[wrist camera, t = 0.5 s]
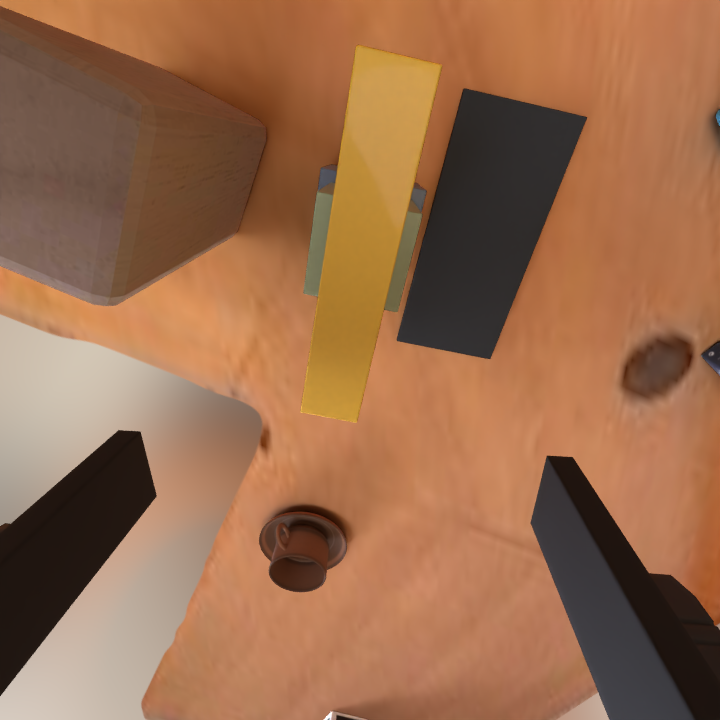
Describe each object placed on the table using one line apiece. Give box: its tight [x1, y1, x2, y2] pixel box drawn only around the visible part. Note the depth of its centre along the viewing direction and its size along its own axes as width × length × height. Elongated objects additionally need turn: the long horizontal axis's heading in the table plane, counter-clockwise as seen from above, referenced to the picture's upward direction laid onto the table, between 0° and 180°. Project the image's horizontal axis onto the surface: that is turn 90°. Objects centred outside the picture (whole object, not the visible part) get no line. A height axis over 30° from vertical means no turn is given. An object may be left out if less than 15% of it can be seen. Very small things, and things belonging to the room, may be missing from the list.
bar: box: [301, 45, 442, 423], centre depth 21 cm, size 18×4×4 cm, turn 169°
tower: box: [303, 165, 427, 312], centre depth 29 cm, size 8×8×14 cm
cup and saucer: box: [259, 512, 347, 592], centre depth 53 cm, size 12×12×6 cm
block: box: [0, 6, 267, 306], centre depth 25 cm, size 10×10×20 cm
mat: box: [397, 89, 587, 359], centre depth 36 cm, size 22×10×1 cm, turn 169°
